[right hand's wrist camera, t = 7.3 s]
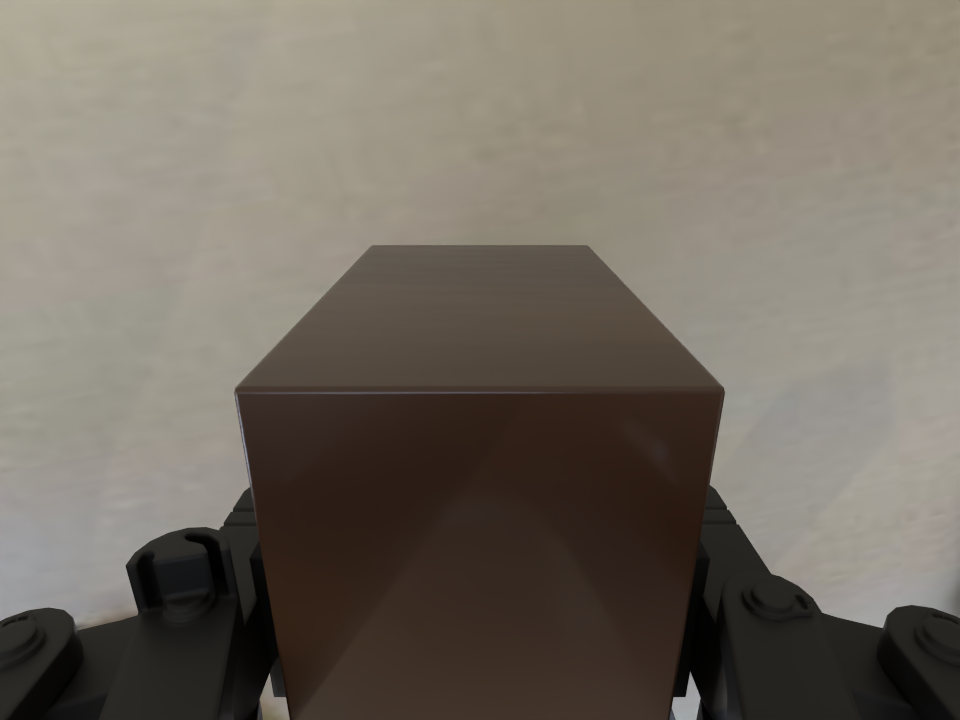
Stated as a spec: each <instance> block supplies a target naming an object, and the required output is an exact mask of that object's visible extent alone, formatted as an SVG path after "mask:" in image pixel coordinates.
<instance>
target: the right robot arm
mask: <svg viewBox="0 0 960 720" xmlns="http://www.w3.org/2000/svg"><path fill="white" fill-rule="evenodd" d="M126 569H127V573H128V576H129V580H130V583H131V587H132V591H133V594H134V598H135V601H136V605H137V609H138V612H139V613H138V615H137V616H134V617H131V618H127V619H124V620H121V621H116V622H112V623H108V624H104V625H99V626H95V627H91V628H87V629H82V630H78V631H77V628H76V625H75V622H74V620H73V617H71V616H70V615H69V614H68V613H67V612H66V611H65V610H60V609H54V608H43V609H36V610H29V611H25V612H23V613H20V614H17V615H14V616H11V617H8V618H6V619H4V620H2V621H0V720H263V717H262V710H261V704H260V696H261V694H262V691H263V688H264V686H265V683H266V681H267V678H268V676H269V673H270V677H271V682H272V688H273V693H274V697H286V694H285V688H284V682H283V676H282V670H281V664H280V658H279V652H278V646H277V641H276V635H275V629H274V623H273V617H272V611H271V605H270V599H269V594H268V588H267V582H266V576H265V570H264V564H263V558H262V552H261V547H260V541H259V535H258V529H257V523H256V517H255V511H254V505H253V500H252V494H251V488H248V489H247V490H246V491H244V493H243V494H242V496H241V497H240V499H239V500H238V502H237V503H236V505H235V506H234V508H233V512H231V513H230V514H229V516H228V517H227V519H226V520H225V522H224V526H223V527H221V528H220V529H219V530H215V529H211V528H207V527H199V528H186V529H182V530H178V531H174V532H170V533H167V534H165V535H163V536H161V537H159V538H156V539H154V540H152V541H150V542H149V543H147V544H146V545H145V546H143V547H142V548H141V549H139V550H138V551H137V552H135V553H134V555H133V556H132V557H131V559H130V560H129V562H128V563H127V564H126ZM690 671H691V674H692V676H693V679H694V681H695V684H696V687H697V689H698V692H699V694H700V697H701V699H700V704H699V709H698V715H697V720H960V619H959V618H958V617H956V616H953V615H951V614H948V613H945V612H942V611H939V610H936V609H933V608H928V607H921V606H914V605H910V606H903V607H897V608H895V609H894V610H893V611H892V612H891V613H889V614H888V615H887V618H886V621H885V624H884V627H883V628H879V627H875V626H871V625H866V624H862V623H858V622H854V621H849V620H845V619H841V618H837V617H834V616H831V615H827V614H824V613H822V612H821V610H820V609H819V607H818V606H817V604H816V602H815V601H814V599H813V598H812V597H811V596H810V595H808V594H807V593H806V592H805V591H804V590H802V589H801V588H800V587H799V586H797V585H795V584H793V583H792V582H790V581H788V580H786V579H784V578H782V577H779V576H776V575H772V574H771V573H770V571H769V570H768V568H767V567H766V565H765V564H764V562H763V561H762V559H761V558H760V556H759V555H758V553H757V552H756V550H755V549H754V547H753V546H752V544H751V543H750V541H749V540H748V538H747V537H746V535H745V534H744V532H743V531H742V529H741V527H740V526H739V525H737V524H736V520H735V518H734V517H733V515H732V514H731V512H730V511H729V510H727V506H726V505H725V503H724V502H723V500H722V499H721V497H720V496H719V494H718V493H717V491H716V490H715V489H714V488H713V487H711V486H710V485H709V489H708V495H707V501H706V507H705V513H704V519H703V525H702V531H701V537H700V543H699V548H698V554H697V560H696V566H695V572H694V578H693V584H692V590H691V596H690V602H689V607H688V613H687V619H686V625H685V631H684V637H683V643H682V649H681V655H680V661H679V666H678V672H677V678H676V684H675V690H674V696H673V697H685V696H686V691H687V685H688V680H689V674H690Z"/></svg>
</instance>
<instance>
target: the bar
mask: <svg viewBox="0 0 960 720" xmlns="http://www.w3.org/2000/svg"><path fill="white" fill-rule="evenodd" d="M234 394H235V400H236V406H237V411H238V417H239V423H240V429H241V435H242V441H243V447H244V453H245V458H246V464H247V470H248V476H249V482H250V488H251V494H252V500H253V505H254V511H255V517H256V523H257V529H258V535H259V541H260V547H261V552H262V558H263V564H264V570H265V576H266V582H267V588H268V594H269V599H270V605H271V611H272V617H273V623H274V629H275V635H276V641H277V646H278V652H279V658H280V664H281V670H282V676H283V682H284V688H285V694H286V699H287V705H288V711H289V717H290V720H670V714H671V708H672V702H673V696H674V690H675V684H676V678H677V672H678V666H679V661H680V655H681V649H682V643H683V637H684V631H685V625H686V619H687V613H688V607H689V602H690V596H691V590H692V584H693V578H694V572H695V566H696V560H697V554H698V548H699V543H700V537H701V531H702V525H703V519H704V513H705V507H706V501H707V495H708V489H709V484H710V478H711V472H712V466H713V460H714V454H715V448H716V442H717V436H718V430H719V425H720V419H721V413H722V407H723V401H724V395H725V391H724V387H723V386H722V385H721V384H720V383H719V382H718V381H717V380H716V379H715V378H714V377H713V376H712V375H711V374H710V373H709V372H708V371H707V370H706V369H705V368H704V367H703V365H702V364H701V363H700V362H699V361H698V360H697V359H696V358H695V357H694V356H693V355H692V354H691V353H690V352H689V351H688V350H687V349H686V348H685V347H684V346H683V345H682V344H681V342H680V341H679V340H678V339H677V338H676V337H675V336H674V335H673V334H672V333H671V332H670V331H669V330H668V329H667V328H666V327H665V326H664V325H663V324H662V323H661V322H660V321H659V319H658V318H657V317H656V316H655V315H654V314H653V313H652V312H651V311H650V310H649V309H648V308H647V307H646V306H645V305H644V304H643V303H642V302H641V301H640V300H639V299H638V298H637V296H636V295H635V294H634V293H633V292H632V291H631V290H630V289H629V288H628V287H627V286H626V285H625V284H624V283H623V282H622V281H621V280H620V279H619V278H618V277H617V276H616V274H615V273H614V272H613V271H612V270H611V269H610V268H609V267H608V266H607V265H606V264H605V263H604V262H603V261H602V260H601V259H600V258H599V257H598V256H597V255H596V254H595V253H594V251H593V250H592V249H591V248H590V247H589V246H587V245H373V246H371V247H370V248H369V249H368V250H367V251H366V252H365V253H364V254H363V255H362V256H361V257H360V258H359V259H358V260H357V261H356V263H355V264H354V265H353V266H352V267H351V268H350V269H349V270H348V271H347V272H346V273H345V274H344V275H343V276H342V277H341V278H340V279H339V280H338V281H337V282H336V283H335V284H334V285H333V287H332V288H331V289H330V290H329V291H328V292H327V293H326V294H325V295H324V296H323V297H322V298H321V299H320V300H319V301H318V302H317V303H316V304H315V305H314V306H313V307H312V308H311V309H310V311H309V312H308V313H307V314H306V315H305V316H304V317H303V318H302V319H301V320H300V321H299V322H298V323H297V324H296V325H295V326H294V327H293V328H292V329H291V330H290V331H289V332H288V333H287V335H286V336H285V337H284V338H283V339H282V340H281V341H280V342H279V343H278V344H277V345H276V346H275V347H274V348H273V349H272V350H271V351H270V352H269V353H268V354H267V355H266V356H265V357H264V359H263V360H262V361H261V362H260V363H259V364H258V365H257V366H256V367H255V368H254V369H253V370H252V371H251V372H250V373H249V374H248V375H247V376H246V377H245V378H244V379H243V380H242V381H241V383H240V384H239V385H238V386H237V387H236V388H235V392H234Z"/></svg>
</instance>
